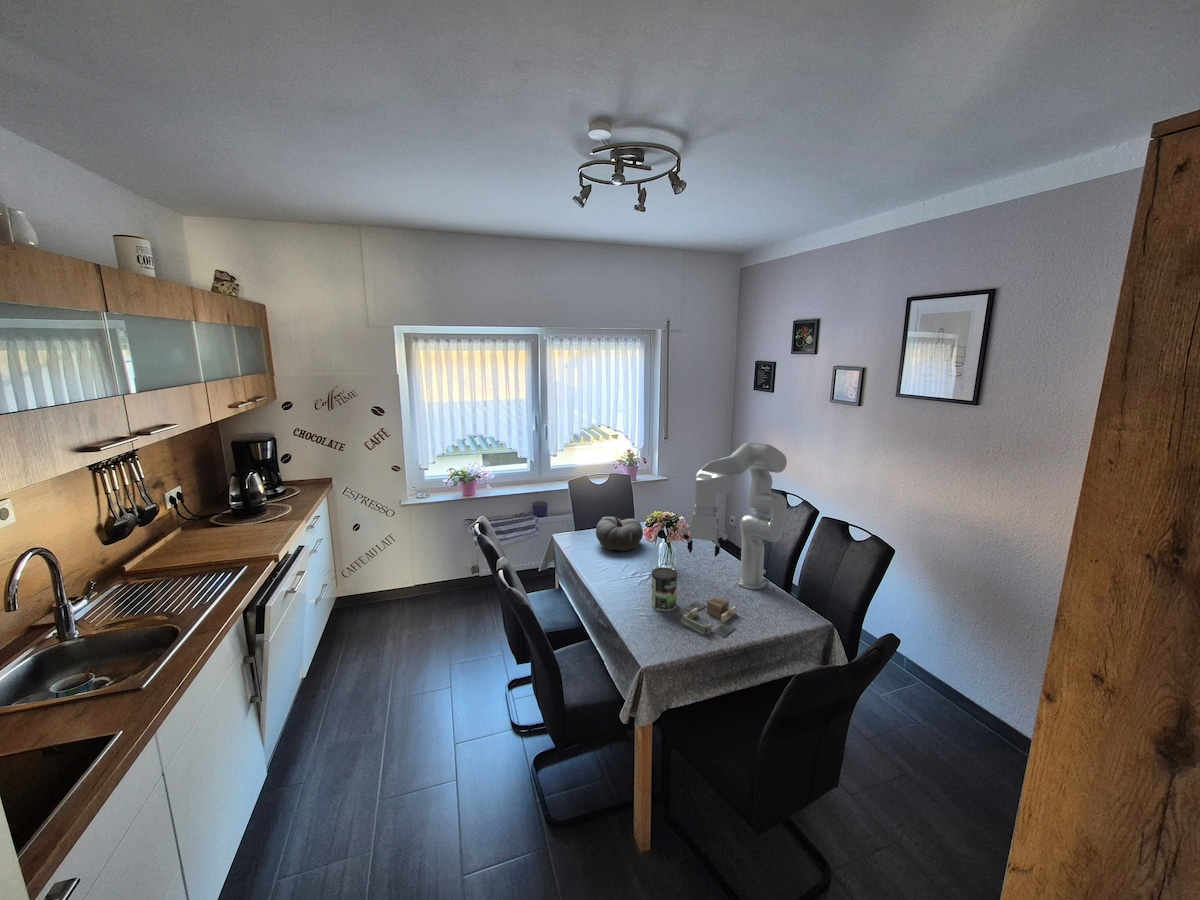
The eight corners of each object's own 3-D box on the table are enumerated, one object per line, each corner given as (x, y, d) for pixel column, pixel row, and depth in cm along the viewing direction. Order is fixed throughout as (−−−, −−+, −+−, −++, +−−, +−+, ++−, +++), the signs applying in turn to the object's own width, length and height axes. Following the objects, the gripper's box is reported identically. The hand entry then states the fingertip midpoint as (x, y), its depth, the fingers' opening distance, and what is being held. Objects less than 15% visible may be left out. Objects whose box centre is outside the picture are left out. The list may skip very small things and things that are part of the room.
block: (715, 607, 193) (715, 596, 192) (728, 613, 189) (728, 601, 188) (706, 613, 189) (707, 601, 188) (720, 619, 184) (720, 607, 184)
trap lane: (700, 598, 199) (700, 592, 199) (748, 618, 184) (749, 611, 183) (669, 618, 185) (669, 611, 184) (719, 641, 170) (719, 634, 169)
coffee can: (681, 606, 194) (682, 573, 191) (663, 614, 188) (663, 581, 185) (664, 596, 202) (664, 565, 199) (645, 603, 196) (646, 571, 193)
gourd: (590, 534, 266) (595, 505, 261) (633, 537, 271) (639, 509, 266) (597, 556, 242) (603, 525, 237) (644, 560, 247) (651, 530, 243)
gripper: (730, 509, 176) (728, 552, 180) (683, 504, 183) (682, 546, 186) (727, 515, 169) (725, 560, 173) (679, 510, 176) (678, 553, 179)
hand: (703, 553), depth 179 cm, fingers open, 9 cm apart
